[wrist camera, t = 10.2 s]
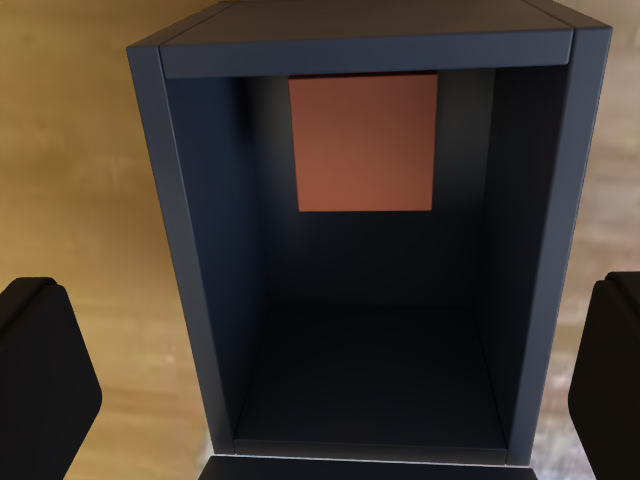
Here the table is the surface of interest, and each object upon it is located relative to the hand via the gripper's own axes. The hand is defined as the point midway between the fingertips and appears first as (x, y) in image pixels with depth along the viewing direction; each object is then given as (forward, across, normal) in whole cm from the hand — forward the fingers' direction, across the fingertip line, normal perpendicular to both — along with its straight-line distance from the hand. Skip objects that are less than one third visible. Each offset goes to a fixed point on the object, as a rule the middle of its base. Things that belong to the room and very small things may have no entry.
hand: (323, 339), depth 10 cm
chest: (+17, -1, +4) cm, 17 cm away
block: (+16, -1, +1) cm, 16 cm away
